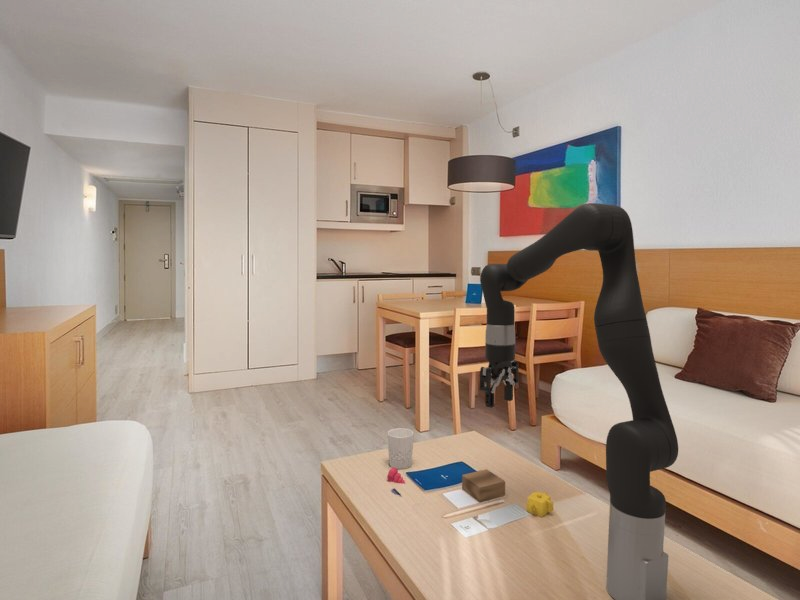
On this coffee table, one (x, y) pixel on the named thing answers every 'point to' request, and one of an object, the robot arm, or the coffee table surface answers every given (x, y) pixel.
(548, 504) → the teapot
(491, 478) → the base block
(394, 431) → the white cup
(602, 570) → the coffee table surface
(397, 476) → the toy pieces
